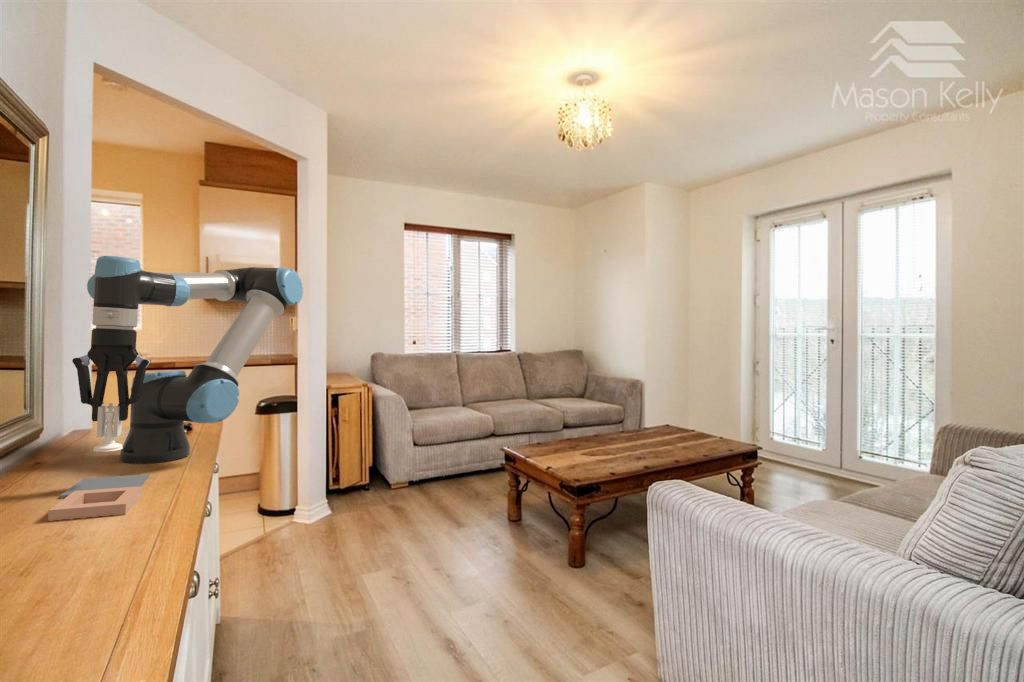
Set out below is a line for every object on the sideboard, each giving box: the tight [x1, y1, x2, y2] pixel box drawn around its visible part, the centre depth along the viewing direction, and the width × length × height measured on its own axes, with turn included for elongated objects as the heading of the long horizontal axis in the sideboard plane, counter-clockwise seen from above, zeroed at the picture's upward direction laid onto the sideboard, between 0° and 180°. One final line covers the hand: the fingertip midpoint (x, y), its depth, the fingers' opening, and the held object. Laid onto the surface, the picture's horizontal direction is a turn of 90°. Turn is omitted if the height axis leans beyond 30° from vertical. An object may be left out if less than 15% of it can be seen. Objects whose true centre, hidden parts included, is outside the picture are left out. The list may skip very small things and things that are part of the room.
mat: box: [59, 473, 151, 499], centre depth 103 cm, size 12×12×1 cm
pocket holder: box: [47, 485, 144, 522], centre depth 91 cm, size 11×11×2 cm
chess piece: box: [93, 402, 124, 453], centre depth 103 cm, size 5×5×10 cm
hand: (109, 435), depth 103 cm, fingers closed on chess piece, 2 cm apart
